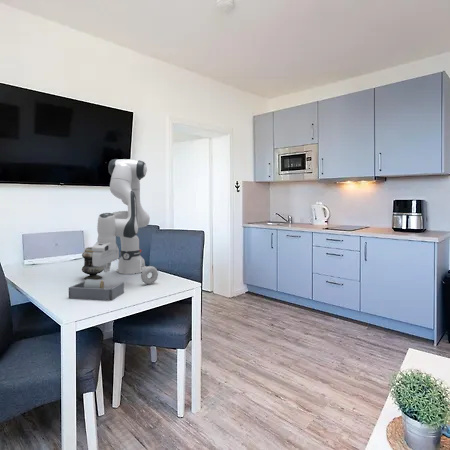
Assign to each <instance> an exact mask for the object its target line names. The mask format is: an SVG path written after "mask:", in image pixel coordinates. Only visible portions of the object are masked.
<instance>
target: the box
mask: <svg viewBox="0 0 450 450" xmlns="http://www.w3.org/2000/svg"><path fill="white" fill-rule="evenodd" d="M84 283H85V280H83V281H81V282H78V283H76V284H74V285H70V286H69V287H68V299H78V300H98V301H113V300H115V299H116V298H118V297H119V296H122V295H123V294H124V293H125V283H124V282H119V283H118V284H117V285H115V286H113V287H112V288H111V287H110V288H104V289H99V288H84Z"/></svg>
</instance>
